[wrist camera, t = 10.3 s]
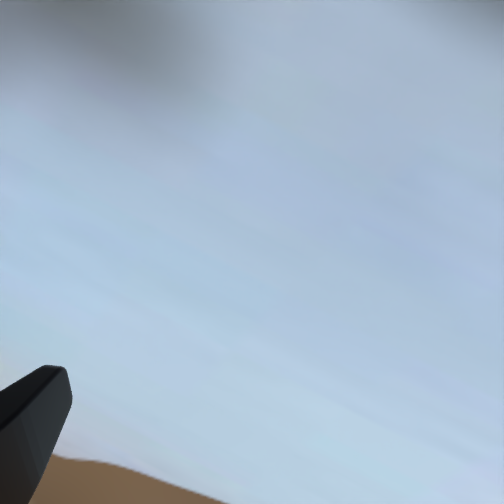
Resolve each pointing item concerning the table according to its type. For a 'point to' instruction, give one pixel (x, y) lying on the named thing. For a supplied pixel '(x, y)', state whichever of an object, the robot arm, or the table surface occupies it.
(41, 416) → the robot arm
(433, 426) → the table surface
